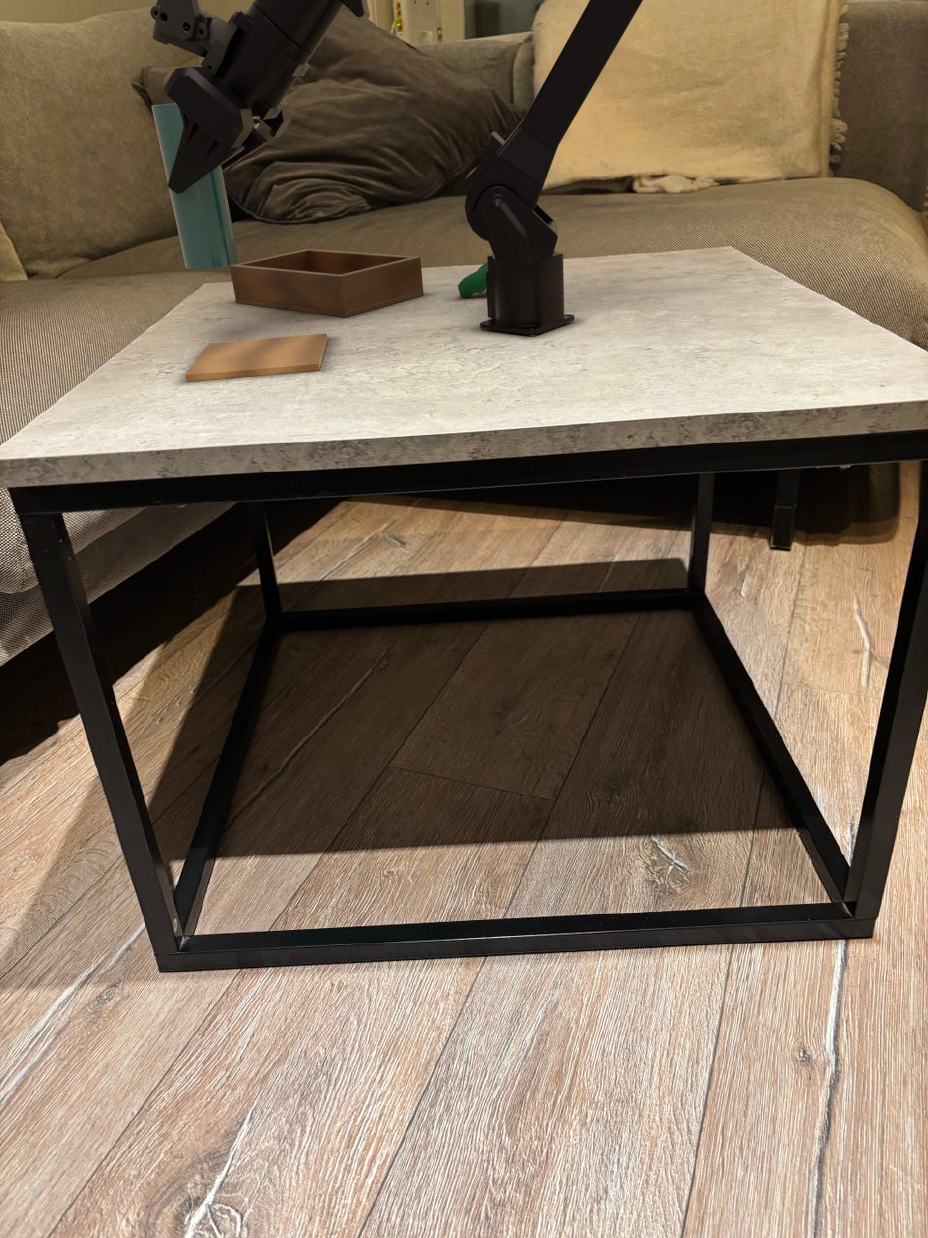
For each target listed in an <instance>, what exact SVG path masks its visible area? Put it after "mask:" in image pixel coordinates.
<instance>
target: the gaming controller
mask: <svg viewBox="0 0 928 1238" xmlns="http://www.w3.org/2000/svg"><path fill="white" fill-rule="evenodd" d="M487 271H488V261H487V262H485V263H484V264H482V265H481V266H480V267H479V268H478V269H477V270H476V271H474V272H472V273H470V274H469V275H467V276H465V277H464V278H463V279H461V280H460V282H459V283H458V284H457V289H458V293H459V296H460V297H462V298H463V299H464V298H465V299H466V298H471V297H475V296H478V295H482V294H486V275H485V274H486V272H487Z"/></svg>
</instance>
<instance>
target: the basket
mask: <svg viewBox="0 0 928 1238" xmlns="http://www.w3.org/2000/svg"><path fill="white" fill-rule="evenodd" d="M421 258H422V257H421V256H411V255H400V254H399V255H397V254H386V253H373V252H372V253H371V252H370V253H369V252H356V251H345V250H344V251H342V250H331V249H330V250H328V249H315V248H306V249H301V250H296V251H292V252H288V253H282V254H278V255H273V256H268V257H264V258H259V259H255V260H250V261H245V262H241V263H237V264H234V265H231V266H228V267H229V271H230V277H231V285H232V287H233V288H232V289H233V295H234V298H235V299H234V300H235V303H236V304H243V305H251V306H258V307H264V308H265V307H266V308H273V309H282V310H287V311H296V312H301V313H310V314H317V315H326V316H332V317H333V316H334V317H338V318H339V317H340V318H348V317H349V318H350V317H351V316H355V315H359V314H362V313H366V312H370V311H373V310H377V309H380V308H384V307H388V306H391V305H395V304H398V303H402V302H405V301H408V300H409V301H410V300H413V299H415V298H419V297H423V296H424V295H425V294H424V284H423V283H424V281H423V272H422V261H421Z"/></svg>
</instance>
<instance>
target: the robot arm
mask: <svg viewBox="0 0 928 1238" xmlns="http://www.w3.org/2000/svg"><path fill="white" fill-rule="evenodd" d="M643 2H644V0H589V1H588V2H587V4H586V6H585V8H584V10H583V11H582V13H581V15H580V17H579V19H578V20H577V22H576V24H575V26H574V27H573V28H572V29H573V30H572V31H571V33H570V34H569V37H568V38H567V40H566V42H565V44H564V46H563V47H562V49H561V51H560V53H559V55H558V57H557V58H556V60H555V62H554V64H553V66H552V67H551V69H550V71H549V72H548V74H547V76H546V78H545V80H544V81H543V83H542V85H541V86H540V88H539V91H538V92H537V94H536V96H535V98H534V99H533V101H532V102H531V104H530V107H529V108H528V110H527V112H526V113H525V115H524V117H523V119H522V120H521V121H520V122H519V124H518V125H517V126H516V128H515V129H514V130H513V132H511V134H510V135H509V136H508V137H507V139H506V140H504V139H503V138H502V137H501V136H500V135H499V134H498V133H497V132H496V131H492V132H491V134H490V135H489V137H488V138H487V141H486V144H485V147H484V150H483V152H482V155H481V159H480V161H479V163H478V165H477V166H476V167H475V168H473V169H472V170H470V172H469V173H468V174H467V175H466V177H465V178H464V182H465V183H466V184H471V186H470V187H469V188H468V192H467V194H466V197H465V200H464V202H465V203H464V211H465V216H466V220H467V221H466V222H467V223H468V225H469V226H470V228H471V230H472V232H473V233H474V234H476V235H477V237H479V238H480V239H482V240H484V241H486V242H487V243H488V244H489V246H490V249H491V251H492V254H488V255H487V256H486V257H487V262H488V271H487V272H486V274H485V275H486V292H485V294H486V304H487V305H486V308H487V309H486V310H487V317H488V319H486V320H484V321H480V322H479V328H480V329H483V330H489V331H491V330H492V331H498V332H506V333H514V334H522V335H530V336H531V335H532V336H533V335H537V334H540V333H544V332H546V331H549V330H552V329H554V328H557V327H560V326H563V325H566V324H568V323H571V322H573V321H575V314H571V313H565V285H564V283H565V281H564V280H565V277H564V253H563V252H558V251H556V250H555V249H556V245H557V242H558V239H559V237H558V236H559V235H558V226H557V222H556V220H554V219H553V218H552V216H550V215H549V214H548V213H547V212H546V211H545V209H543V208H542V207H541V206H540V205H539V204H538V201H539V199H540V197H541V193H542V191H543V189H544V186H545V183H546V181H547V177H548V175H549V172H550V170H551V166H552V164H553V161H554V159H555V156H556V153H557V151H558V148H559V145H560V144H561V142H562V140H563V138H564V137H565V135H566V134H567V131H568V130H569V128H570V127H571V125H572V123H573V122H574V119H575V118H576V116H577V115H578V113H579V111H580V109H581V107H582V106H583V104H584V103H585V101H586V100H587V97H588V96H589V94H590V92H591V91H592V89H593V87H594V86H595V84H596V82H597V80H598V78H599V77H600V75H601V73H602V71H603V70H604V69H605V67H606V65H607V63H608V61H609V60H610V58H611V56H612V55H613V53H614V51H615V49H616V48H617V46H618V45H619V42H620V41H621V39H622V37H623V36H624V34H625V32H626V31H627V30H628V27H629V25H630V24H631V22H632V21H633V19H634V17H635V15H636V14H637V12H638V10H639V8H640V7H641V5H642V3H643ZM344 7H346V8H347V9H348V10H349V11H350V12H351V13H352V14H353V15H354V16H355V17H357V19H360V20H362V21H368V20H369V19H370V15H371V12H370V9H369V8H370V7H369V2H368V0H253V1H252V2H251V4H250V6H249V7H248V9H247V10H246V11H243V10H239V11H234V12H233V13H232V15H231V16H230V18H229V20H227V19H224V18H222V17H219V16H217V15H214V14H213V13H210V12H208V11H206V10H203V9H200V6H199V1H198V0H156V3H155V5H153V6H152V7H151V8H150V17H151V18H152V19H153V20H154V24H153V31H152V36H151V39H152V40H153V41H156V42H158V43H161V44H162V45H171V46H174V47H177V48H179V49H182V50H184V51H186V52H189V53H191V54H193V55H196V56H199V57H201V58H203V60H202V61H201V63H200V66H185V67H183V66H182V67H176V68H174V70H173V72H172V73H171V75H170V77H169V78H168V80H167V82H166V84H164V87H163V88H162V90H163V92H164V93H165V95H166V96H167V97H168V98H169V99H171V100H172V101H173V102H174V103H175V104H176V105H177V106H178V107H179V110H180V114H181V117H182V121H183V131H182V135H181V139H180V143H179V146H178V150H177V154H176V157H175V160H174V164H173V167H172V171H171V174H170V178H169V181H168V182H167V187H168V189H169V188H170V189H171V190H172V191H173V192H175V193H176V194H180V193H182V192H183V191H184V190H186V189H187V188H189V187H190V186H192V185H193V184H195V183H196V182H198V181H199V180H200V179H202V178H203V177H205V176H206V175H208V174H209V173H210V172H212V171H213V170H215V169H216V168H218V167H219V166H220V165H221V167H222V172H224V171H226V170H227V169H229V168H230V167H232V166H234V165H235V164H237V163H238V162H240V161H242V160H244V159H245V158H247V157H248V156H249V155H251V154H252V153H254V152H256V151H257V150H259V149H260V148H262V147H264V146H266V145H267V144H268V143H269V142H270V141H269V139H268V138H267V136H265V135H264V134H262V132H261V131H260V130H259V129H258V128H259V126H260V124H261V121H262V122H263V123H264V124H266V126H267V127H269V129H270V130H269V132H268V134H269V135H270V136H271V137H272V138H273V139H277V138H280V137H281V136H282V135H283V134H284V132H285V131H286V129H287V128H288V126H289V124H290V123H291V122H292V114H291V109H290V104H289V103H288V101H286V100H285V99H284V98H285V97H286V95H287V94H288V92H289V91H290V89H291V88H292V86H293V85H294V83H295V82H296V80H297V79H298V77H304V76H305V75H306V73H307V71H308V70H309V68H311V65H310V64H309V63H308V62H309V60H310V59H311V58H312V56H313V55H314V53H315V52H316V50H317V48H318V47H319V46H320V44H321V43H322V41H323V39H324V38H325V36H326V35H327V33H328V32H329V31H330V29H331V27H332V26H333V24H334V22H335V21H336V19H337V18H338V17H339V15H340V14H341V12H342V11H343V9H344ZM258 119H259V120H260V121H259V120H258Z"/></svg>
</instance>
